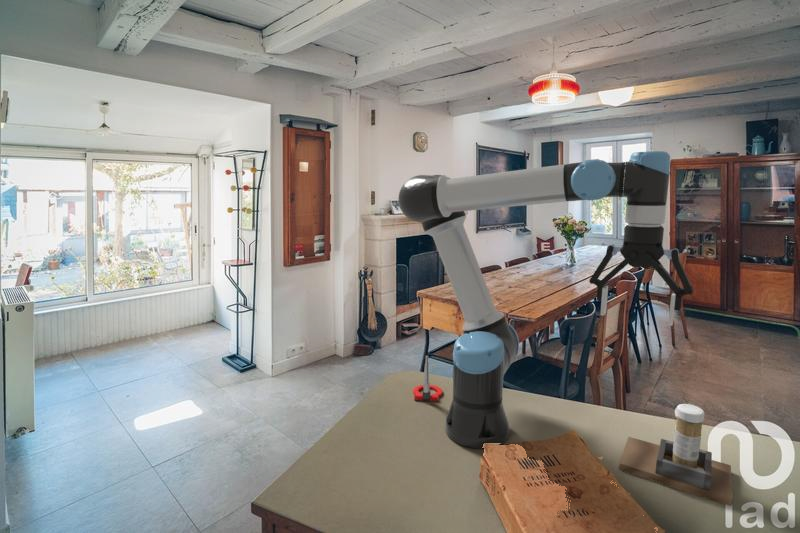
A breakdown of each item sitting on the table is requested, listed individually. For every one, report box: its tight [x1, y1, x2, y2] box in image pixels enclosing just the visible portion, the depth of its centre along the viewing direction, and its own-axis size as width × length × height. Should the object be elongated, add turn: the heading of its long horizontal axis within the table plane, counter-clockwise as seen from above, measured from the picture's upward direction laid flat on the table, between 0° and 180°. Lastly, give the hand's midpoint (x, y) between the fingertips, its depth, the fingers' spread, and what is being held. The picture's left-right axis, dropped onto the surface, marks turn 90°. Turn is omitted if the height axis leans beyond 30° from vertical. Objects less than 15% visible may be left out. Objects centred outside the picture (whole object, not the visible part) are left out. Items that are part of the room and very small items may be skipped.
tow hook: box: [412, 355, 443, 402], centre depth 126 cm, size 8×13×9 cm
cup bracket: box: [618, 436, 733, 507], centre depth 92 cm, size 19×12×4 cm, turn 55°
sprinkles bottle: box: [672, 403, 705, 469], centre depth 89 cm, size 5×5×14 cm
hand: (635, 319), depth 100 cm, fingers open, 13 cm apart
